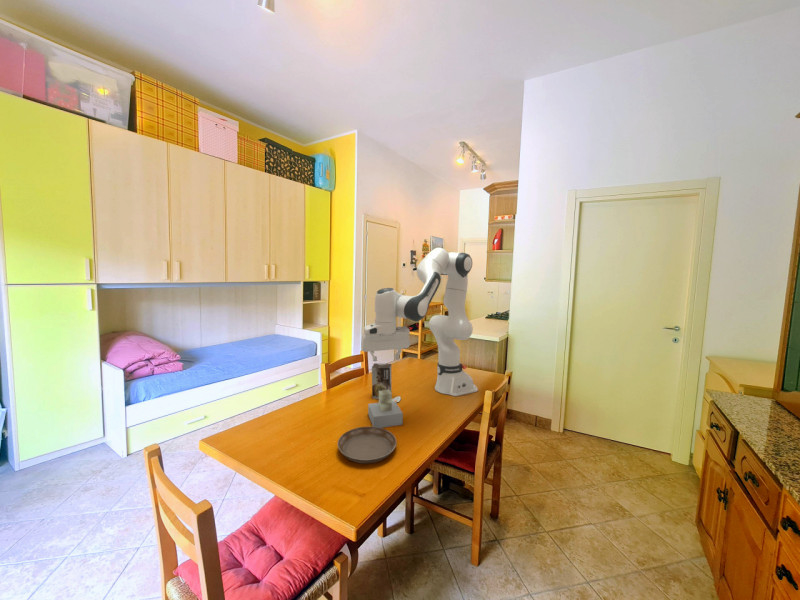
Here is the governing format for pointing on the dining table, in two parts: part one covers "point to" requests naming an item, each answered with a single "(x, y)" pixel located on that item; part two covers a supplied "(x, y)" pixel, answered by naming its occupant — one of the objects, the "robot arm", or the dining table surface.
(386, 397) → the sage block
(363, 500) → the dining table surface
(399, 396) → the spoon
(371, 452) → the plant saucer
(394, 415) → the plinth
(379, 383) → the coffee box
